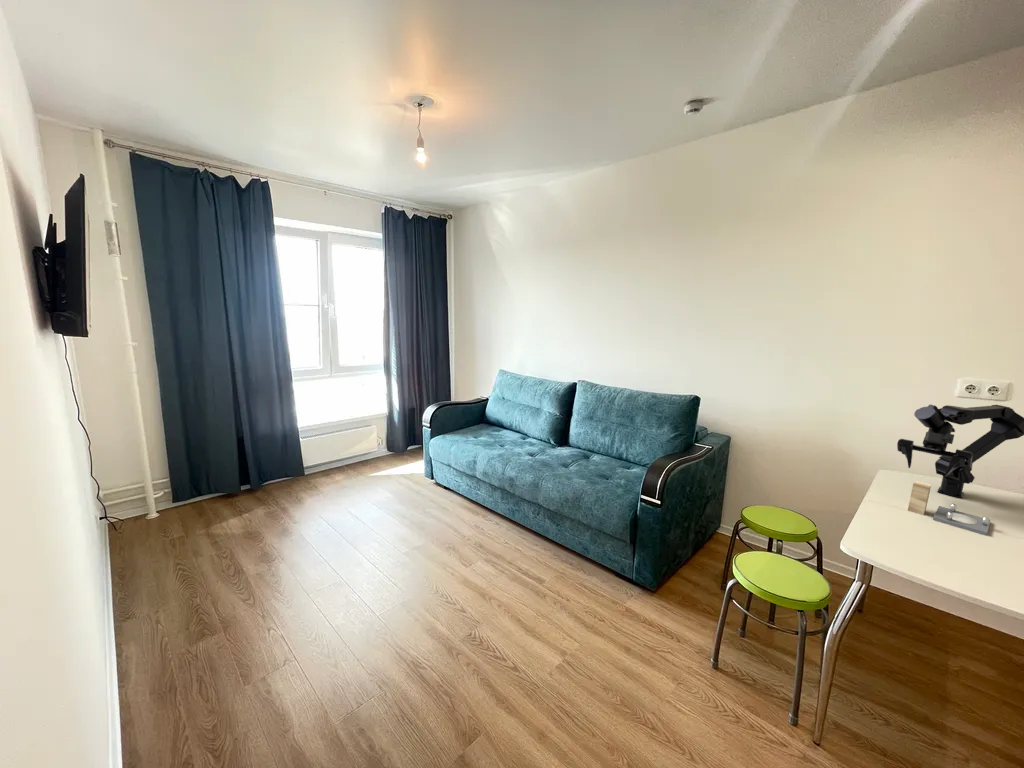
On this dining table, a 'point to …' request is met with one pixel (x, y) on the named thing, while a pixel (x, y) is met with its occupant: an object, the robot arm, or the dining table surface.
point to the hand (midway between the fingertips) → (926, 471)
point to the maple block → (919, 497)
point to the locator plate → (962, 519)
